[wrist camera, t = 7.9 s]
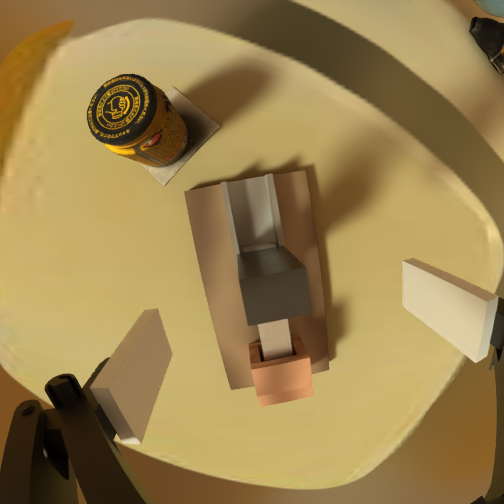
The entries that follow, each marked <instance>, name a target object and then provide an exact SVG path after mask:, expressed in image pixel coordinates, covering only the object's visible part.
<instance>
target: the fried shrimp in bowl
mask: <svg viewBox="0 0 504 504" xmlns="http://www.w3.org/2000/svg"><path fill="white" fill-rule="evenodd" d="M469 32H470V33H472V34H473V35H474V37H475V39H476V41H477V43H478V44H479V46H480V47H481V48H482V49H483V50H484V51H485V52H486V53H487V54H488V57H489V60H490V62H491V63H492V65H493V66H494V68H495V69H496V70H497V71H498V72H499V73H500V74H501V73H502V72H503V73H504V23H499V22H497V21H495V20H493V19H489V18H478V17H474V18H472V21H471V25H470V30H469Z"/></svg>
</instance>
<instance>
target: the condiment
mask: <svg viewBox="0 0 504 504" xmlns="http://www.w3.org/2000/svg"><path fill="white" fill-rule="evenodd" d="M87 121H88V126H89V128H90V130H91V133H92V135H93V136H94V137H95V138H96V139H97V140H99V141H100V142H103V143H104V144H105V146H106V147H107V148H108V149H109V150H111V151H112V152H114V153H116V154H118V155H121V156H124V157H127V158H129V159H132V160H134V161H137V162H138V163H139V164H140V165H141V166H143V167H144V168H145V169H146V170H147V171H148V172H149V173H150V174H151V175H152V176H153V177H154V178H155V179H156V180H157V181H158V182H159V183H160V184H161V185H163V186H165V184H166V183H167V182H168V181H169V180H170V179H171V178H172V177H173V176H174V175H175V173H176V172H177V171H178V170H179V169H180V168H181V167H182V166H183V165H184V164H185V162H186V161H187V160H188V159H189V158H190V157H191V156H192V155H193V154H194V153H195V152H196V150H197V149H198V148H199V147H200V146H201V145H202V144H203V143H204V142H205V141H206V140H207V139H208V138H209V137H210V136H211V135H212V134H213V133H214V132H215V131H216V130H217V129H218V128H219V127H220V125H218V124H217V123H216V122H215V121H214V120H212V119H211V118H210V117H209V116H208V115H207V114H205V113H204V112H203V111H202V110H200V109H199V108H198V107H197V106H196V105H195V104H193V103H192V102H191V101H190V100H189V99H187V98H186V97H185V96H184V95H182V94H181V93H180V92H179V91H178V90H176V89H175V88H174V87H172V88H171V89H170V90H169V91H168V92H166V94H165V93H164V92H163V91H162V90H161V89H159V88H158V87H156V86H154V85H153V84H151V83H150V82H149V81H148V80H147V79H145V78H144V77H142V76H139V75H135V74H122V75H119V76H117V77H115V78H113V79H111V80H109V81H107V82H105V83H104V84H103V85H102V86H101V87H100V88H99V89H98V90H97V92H96V93H95V94H94V96H93V97H92V99H91V102H90V105H89V107H88V110H87ZM190 140H191V141H190Z"/></svg>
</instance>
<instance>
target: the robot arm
mask: <svg viewBox="0 0 504 504" xmlns="http://www.w3.org/2000/svg"><path fill="white" fill-rule="evenodd" d="M473 1H474V2H475V3H476V4H477V5H478V6H479V7H480V8H481V9H482V10H484V11H485V12H486V13H488V14H490V15H493V16H497V17H504V0H473ZM402 263H403V307H404V308H405V309H406V310H408V311H409V312H411V313H412V314H413V315H415V316H416V317H417V318H419V319H420V320H421V321H422V322H424V323H425V324H426V325H428V326H429V327H430V328H432V329H433V330H434V331H436V332H437V333H438V334H439V335H441V336H442V337H443V338H445V339H446V340H447V341H448V342H450V343H451V344H452V345H454V346H455V347H456V348H457V349H459V350H460V351H461V352H462V353H464V354H465V355H466V356H467V357H469V358H470V359H471V360H472V361H474V362H475V363H476V362H478V361H480V360H482V359H483V358H485V357H486V356H487V353H488V350H489V345H490V344H492V345H493V346H494V347H495V348H494V353H493V357H492V360H491V363H490V367H489V370H491V368H492V366H493V365H494V370H495V380H496V395H497V396H496V397H497V434H496V450H495V460H494V469H493V476H492V482H491V486H490V488H489V490H488V492H487V494H486V496H485V498H483V497H482V496H481V497H479V498H478V499H477V500H475V501H474V502H472V503H471V504H504V299H502V298H500V297H499V296H497V295H495V294H493V293H491V292H489V291H486V290H484V289H482V288H480V287H478V286H476V285H474V284H471V283H469V282H467V281H465V280H463V279H460V278H458V277H456V276H454V275H452V274H449V273H447V272H445V271H442V270H440V269H438V268H436V267H433V266H431V265H429V264H426V263H424V262H421V261H419V260H417V259H414V258H412V259H407V260H403V261H402ZM171 357H172V351H171V348H170V345H169V342H168V340H167V337H166V333H165V330H164V327H163V324H162V321H161V318H160V314H159V311H158V309H151V310H144V312H143V313H142V314H141V316H140V317H139V318H138V320H137V321H136V322H135V324H134V325H133V327H132V328H131V329H130V331H129V332H128V333H127V335H126V336H125V338H124V339H123V340H122V342H121V343H120V344H119V346H118V347H117V349H116V350H115V352H114V353H113V354H112V356H111V357H109V358H106V359H105V360H104V361H103V362H101V363H100V364H99V365H98V367H97V368H96V369H95V372H93V374H92V375H91V377H90V378H89V379H88V381H87V382H86V383H85V385H84V386H83V388H81V386H80V385H79V383H78V381H77V379H76V377H75V376H74V375H73V374H61V375H58V376H56V377H54V378H52V379H51V380H50V381H48V382H47V384H46V385H45V389H44V390H45V392H46V394H47V395H48V397H49V399H50V400H51V402H52V404H53V405H54V407H55V408H53V409H46V410H44V409H43V407H42V406H41V404H40V403H39V401H37V400H28V401H24V402H23V403H21V404H20V405H19V406H18V407H17V408H16V410H15V412H14V415H13V419H12V422H11V426H10V429H9V433H8V437H7V441H6V445H5V449H4V454H3V459H2V465H1V470H0V504H79V503H78V495H77V485H76V478H77V480H78V483H79V485H80V488H81V490H82V492H83V495H84V497H85V500H86V501H87V504H156V502H155V501H154V500H153V499H152V497H151V496H150V495H149V493H148V492H147V490H146V489H145V488H144V486H143V485H142V484H141V482H140V481H139V479H138V478H137V476H136V475H135V473H134V472H133V470H132V469H131V467H130V466H129V464H128V463H127V461H126V460H125V458H124V456H123V455H122V453H121V451H120V450H119V448H118V447H117V445H116V443H115V442H114V441H113V440H114V438H115V435H116V433H117V435H118V436H119V438H120V439H121V441H122V442H123V443H126V444H141V443H142V440H143V437H144V434H145V431H146V428H147V425H148V422H149V419H150V416H151V413H152V410H153V407H154V405H155V402H156V399H157V396H158V393H159V390H160V388H161V385H162V382H163V379H164V376H165V374H166V371H167V368H168V365H169V363H170V360H171Z"/></svg>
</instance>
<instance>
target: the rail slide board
mask: <svg viewBox="0 0 504 504" xmlns="http://www.w3.org/2000/svg"><path fill="white" fill-rule="evenodd" d="M220 183H221V184H219V185H213V186H208V187H204V188H199V189H194V190H189V191H185V192H184V193H185V198H186V204H187V209H188V214H189V219H190V224H191V229H192V234H193V239H194V244H195V249H196V253H197V258H198V262H199V267H200V271H201V276H202V280H203V284H204V289H205V293H206V297H207V301H208V306H209V310H210V314H211V318H212V322H213V326H214V330H215V333H216V337H217V341H218V345H219V349H220V352H221V356H222V360H223V363H224V367H225V370H226V374H227V378H228V381H229V384H230V388H231V390H234V389H240V388H247V387H253V386H255V388H256V393H257V397H258V401H259V405H260V407H262V406H268V405H273V404H278V403H283V402H288V401H293V400H297V399H301V398H306V397H310V396H313V385H312V374H315V373H319V372H322V371H326V370H329V357H328V343H327V330H326V318H325V308H324V297H323V288H322V279H321V270H320V262H319V254H318V247H317V239H316V232H315V225H314V218H313V212H312V205H311V199H310V193H309V187H308V181H307V176H306V170H303V171H296V172H289V173H282V174H276V175H273V174H272V173H271V174H266V175H265V176H261V177H255V178H249V179H244V180H238V181H233V182H226V181H225V182H220ZM268 242H273V243H274V244H275V246H282V245H283V246H285V247H286V248H287V249H288V250H289V251H290V252H291V253H292V254H293V255H294V256H295V257H296V258H297V259H298V260H299V261H300V262H301V263H302V264H303V265H305V266H306V269H307V277H308V285H309V293H310V301H311V310H312V313H311V314H306V315H302V316H297V317H293V318H288V325H289V332H290V339H291V346H292V353H293V356H289V357H285V358H280V359H275V360H270V361H265V360H264V355H263V349H262V344H261V339H260V334H259V329H258V325H253V326H248V324H247V319H246V314H245V309H244V304H243V299H242V294H241V289H240V284H239V277H238V262H237V254H239V253H244V250H243V247H246V246H252V245H257V244H262V243H268Z"/></svg>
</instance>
